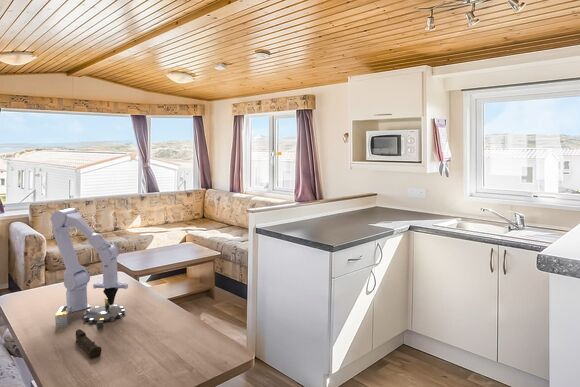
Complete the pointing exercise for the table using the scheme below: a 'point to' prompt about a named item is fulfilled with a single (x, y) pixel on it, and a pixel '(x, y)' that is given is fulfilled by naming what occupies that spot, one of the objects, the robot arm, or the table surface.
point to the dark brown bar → (88, 344)
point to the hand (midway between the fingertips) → (111, 304)
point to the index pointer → (100, 324)
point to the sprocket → (103, 313)
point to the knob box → (63, 316)
